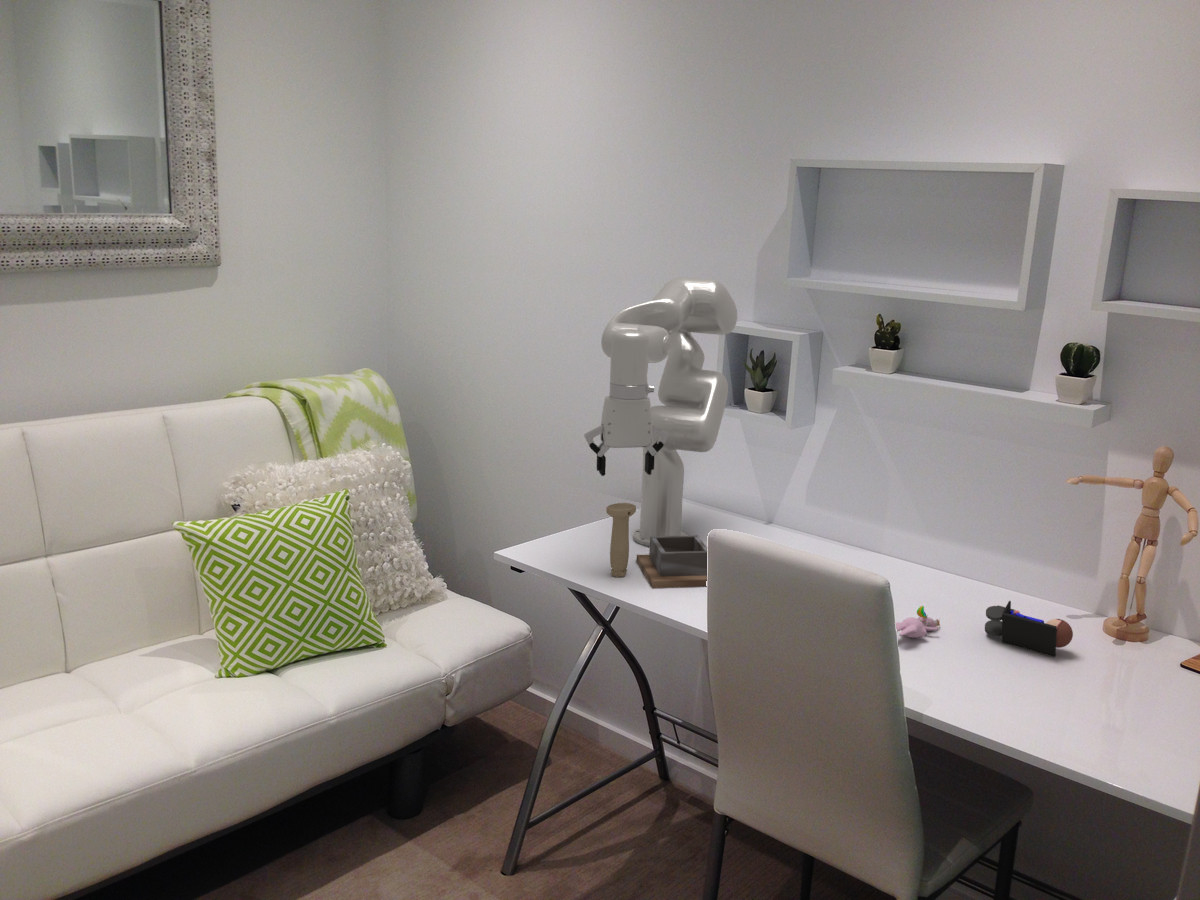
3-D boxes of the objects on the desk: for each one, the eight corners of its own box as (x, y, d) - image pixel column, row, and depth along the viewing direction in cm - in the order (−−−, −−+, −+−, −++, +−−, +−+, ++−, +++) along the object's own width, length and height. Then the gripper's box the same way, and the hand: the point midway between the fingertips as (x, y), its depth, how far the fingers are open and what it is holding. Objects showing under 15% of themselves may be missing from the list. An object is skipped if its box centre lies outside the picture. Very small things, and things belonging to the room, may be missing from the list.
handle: (637, 575, 219) (640, 506, 216) (615, 581, 215) (618, 512, 211) (621, 568, 223) (624, 501, 219) (599, 575, 218) (602, 506, 215)
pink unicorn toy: (915, 627, 201) (879, 637, 189) (921, 597, 200) (885, 606, 189) (946, 637, 196) (911, 648, 185) (952, 607, 196) (917, 616, 185)
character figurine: (989, 630, 198) (1072, 655, 188) (976, 639, 192) (1060, 665, 183) (996, 591, 196) (1079, 614, 187) (982, 599, 190) (1068, 623, 181)
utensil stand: (636, 561, 227) (637, 533, 226) (702, 559, 230) (704, 531, 228) (652, 588, 212) (653, 558, 210) (723, 586, 215) (725, 556, 213)
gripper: (665, 387, 214) (661, 467, 218) (582, 388, 211) (580, 469, 215) (674, 395, 207) (670, 477, 211) (589, 395, 204) (586, 479, 208)
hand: (625, 473), depth 213 cm, fingers open, 9 cm apart
